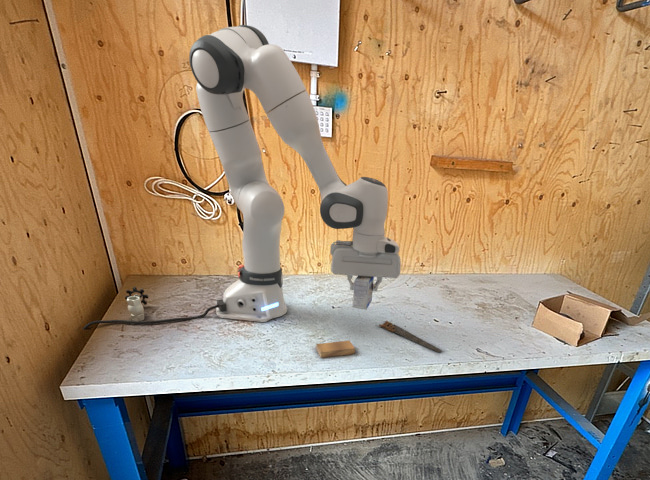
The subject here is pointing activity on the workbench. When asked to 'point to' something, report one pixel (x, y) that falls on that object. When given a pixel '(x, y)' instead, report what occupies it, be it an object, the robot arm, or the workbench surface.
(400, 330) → the hand saw
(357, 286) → the medicine box
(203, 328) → the workbench surface
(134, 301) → the valve
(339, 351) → the plywood offcut
